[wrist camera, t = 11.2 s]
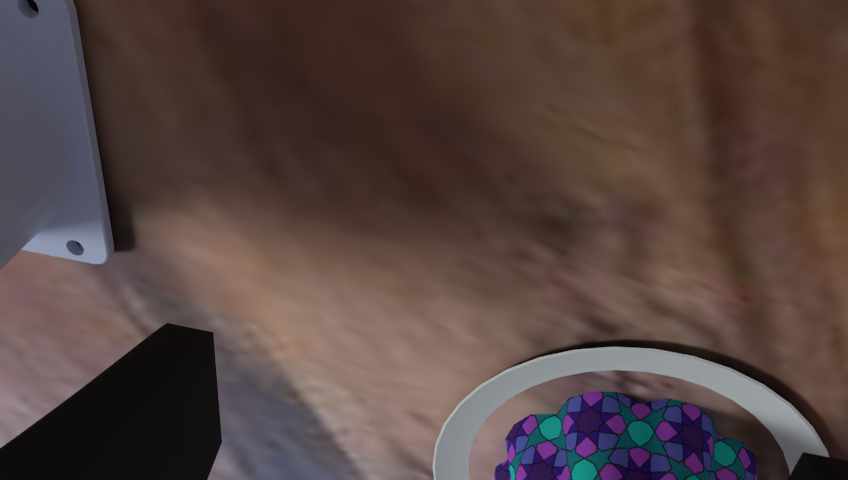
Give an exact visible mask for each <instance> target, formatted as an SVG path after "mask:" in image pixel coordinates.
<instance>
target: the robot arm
mask: <svg viewBox="0 0 848 480" xmlns="http://www.w3.org/2000/svg"><path fill="white" fill-rule="evenodd" d="M34 1H35V2H36V4H37V6H38V9H39V12H37V11H34V10H33V9H32V8H31V7H30V6H29V3H28V1H27V0H0V269H1V268H3V267H4V266H5V265H6V264H7V263H8V262H9V261H10V260H11V259H12V258H13V257H14V256H15V255H16V254H17V253H18V252H19V251H20V250H25V251H30V252H35V253H40V254H45V255H51V256H56V257H61V258H66V259H71V260H76V261H82V262H87V263H92V264H103V263H105V262H107V260H108V259H109V258H110V257H111V256H112V254H113V253H114V243H113V236H112V230H111V224H110V218H109V211H108V205H107V199H106V193H105V187H104V180H103V174H102V168H101V162H100V156H99V149H98V143H97V137H96V131H95V124H94V118H93V112H92V106H91V100H90V93H89V87H88V81H87V75H86V68H85V62H84V56H83V50H82V44H81V37H80V31H79V25H78V19H77V12H76V8H75V5H74V2H73V0H34ZM75 241H77V242H79V243H80V244H81V245H82V247H81V246H79V245H78V244H77V243H76V242H75ZM221 443H222V439H221V427H220V414H219V402H218V389H217V376H216V364H215V351H214V339H213V332H208V331H203V330H198V329H193V328H188V327H183V326H179V325H174V324H169V323H167V324H165V325H164V326H162V327H161V328H159V329H158V330H157V331H155V332H154V333H153V334H151V335H150V336H149V337H147V338H146V339H145V340H143V341H142V342H141V343H140V344H138V345H137V346H136V347H134V348H133V349H132V350H131V351H129V352H128V353H127V354H125V355H124V356H123V357H122V358H120V359H119V360H118V361H116V362H115V363H114V364H113V365H111V366H110V367H109V368H107V369H106V370H105V371H104V372H102V373H101V374H100V375H98V376H97V377H96V378H95V379H93V380H92V381H91V382H89V383H88V384H87V385H85V386H84V387H83V388H81V389H80V390H79V391H78V392H76V393H75V394H74V395H72V396H71V397H70V398H68V399H67V400H66V401H64V402H63V403H62V404H60V405H59V406H58V407H56V408H55V409H54V410H52V411H51V412H49V413H48V414H47V415H45V416H44V417H43V418H41V419H40V420H39V421H37V422H36V423H35V424H33V425H32V426H30V427H29V428H28V429H26V430H25V431H24V432H22V433H21V434H20V435H18V436H17V437H16V438H14V439H13V440H11V441H10V442H9V443H7V444H6V445H4V446H3V447H1V448H0V480H207V479H208V476H209V474H210V471H211V468H212V466H213V463H214V461H215V458H216V455H217V453H218V450H219V448H220V445H221ZM788 480H848V461H845V460H840V459H835V458H830V457H825V456H820V455H815V454H810V453H805V452H803V453H802V455H801V456H800V458H799V460H798V462H797V464H796V465H795V467H794V469H793V471H792V473H791V474H790V476H789V478H788Z"/></svg>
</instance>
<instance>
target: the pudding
mask: <svg viewBox="0 0 848 480" xmlns="http://www.w3.org/2000/svg"><path fill="white" fill-rule="evenodd" d="M608 370H624V371H641V372H650V373H655V374H661V375H666V376H671V377H677V378H680V379H683V380H686V381H689V382H692V383H695V384H698V385H702V386H705V387H707V388H709V389H711V390H713V391H715V392H717V393H719V394H721V395H723V396H725V397H728V398H730V399H732V400H733V401H735V402H736V403H737V404H739V405H740V406H742V407H743V408H745V409H746V410H747V411H749V412H750V413H752V414H753V415H754V416H755V417H756V418H757V419H758V420H759V421H760V422H761V423H762V424H763V425H764V426H765V427H766V428H767V429H768V430H769V431H770V432H771V433H772V435H773V436H774V438H775V439H776V441H777V443H778V444H779V446H780V447H781V449H782V450H783V453H784V456H785V459H786V462H787V465H788V468H789V471H790V474H791V473H792V471H793V469H794V467H795V465H796V464H797V462H798V460H799V458H800V456H801V455H802V453H803V452H805V453H810V454H815V455H820V456H825V457H829V454H828V451H827V449H826V448H825V446H824V444H823V443H822V441H821V439H820V438H819V436H818V434H817V433H816V431H815V429H814V428H813V426H812V425H811V424H810V423H809V422H808V421H807V420H806V419H805V418H804V417H803V416H802V415H801V414H800V413H799V412H798V411H797V410H796V408H795V407H794V406H793V405H792V404H790V403H789V402H788V401H786V400H785V399H783V398H782V397H781V396H779V395H778V394H776V393H775V392H774V391H772V390H771V389H769V388H768V387H767V386H765V385H764V384H762V383H760V382H758V381H756V380H754V379H752V378H750V377H748V376H746V375H744V374H742V373H740V372H737V371H735V370H733V369H731V368H729V367H726V366H723V365H720V364H717V363H713V362H710V361H707V360H704V359H701V358H698V357H695V356H691V355H685V354H680V353H675V352H669V351H664V350H658V349H650V348H631V347H602V348H589V349H576V350H571V351H566V352H561V353H557V354H552V355H547V356H543V357H538V358H536V359H533V360H530V361H528V362H525V363H522V364H520V365H517V366H514V367H512V368H509V369H507V370H505V371H503V372H501V373H500V374H498V375H496V376H495V377H493V378H491V379H489V380H488V381H486V382H484V383H482V384H481V385H479V386H478V387H477V388H476V389H475V390H474V391H472V392H471V393H470V394H469V395H468V396H467V397H466V398H464V399H463V400H462V401H461V402H460V403H459V404H458V405H457V407H456V408H455V409H454V411H453V412H452V413H451V415H450V416H449V417H448V419H447V420H446V421H445V423H444V425H443V427H442V430H441V432H440V435H439V437H438V439H437V442H436V444H435V452H434V459H433V473H434V480H470V479H469V467H468V462H469V456H470V451H471V445H472V443H473V441H474V439H475V437H476V435H477V433H478V431H479V429H480V427H481V426H482V425H483V424H484V422H485V421H486V420H487V419H488V417H489V416H490V415H491V414H492V413H493V412H494V411H495V410H496V409H497V408H499V407H500V406H501V405H502V404H504V403H505V402H506V401H507V400H508V399H510V398H512V397H513V396H515V395H517V394H519V393H521V392H523V391H524V390H526V389H528V388H530V387H532V386H535V385H538V384H540V383H543V382H546V381H549V380H552V379H555V378H558V377H563V376H568V375H573V374H578V373H583V372H593V371H608ZM506 446H507V453H508V459H507V460H505V461H504V462H502V463H501V464H500V465H498V466H497V467H496V469H495V478H494V480H758V474H759V473H758V467H757V461H756V457H755V456H754V454H753V453H752V452H751V451H750V450H749V449H748V448H747V446H746V445H745V444H744V443H743V442H739V441H736V440H733V439H729V438H726V437H722V436H719V435H717V434H716V430H715V427H714V424H713V421H712V418H711V416H710V415H708V414H707V413H705V412H704V411H702V410H700V409H699V408H697V407H695V406H694V405H692V404H689V403H685V402H680V401H676V400H672V399H667V398H666V399H661V400H657V401H652V402H647V403H643V404H639V403H637V402H635V401H633V400H631V399H629V398H627V397H625V396H623V395H621V394H620V393H618V392H588V393H585V394H582V395H578V396H575V397H571V398H569V399H568V400H567V402H566V403H565V404H564V405H563V407H562V408H561V409H560V411H559V412H558V413H557V414H540V415H529V416H528V417H526V418H524V419H523V420H521V421H519V422H518V423H516V424H515V425H514V426H513V427H512V429H511V431H510V432H509V434H508V436H507V437H506Z"/></svg>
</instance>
